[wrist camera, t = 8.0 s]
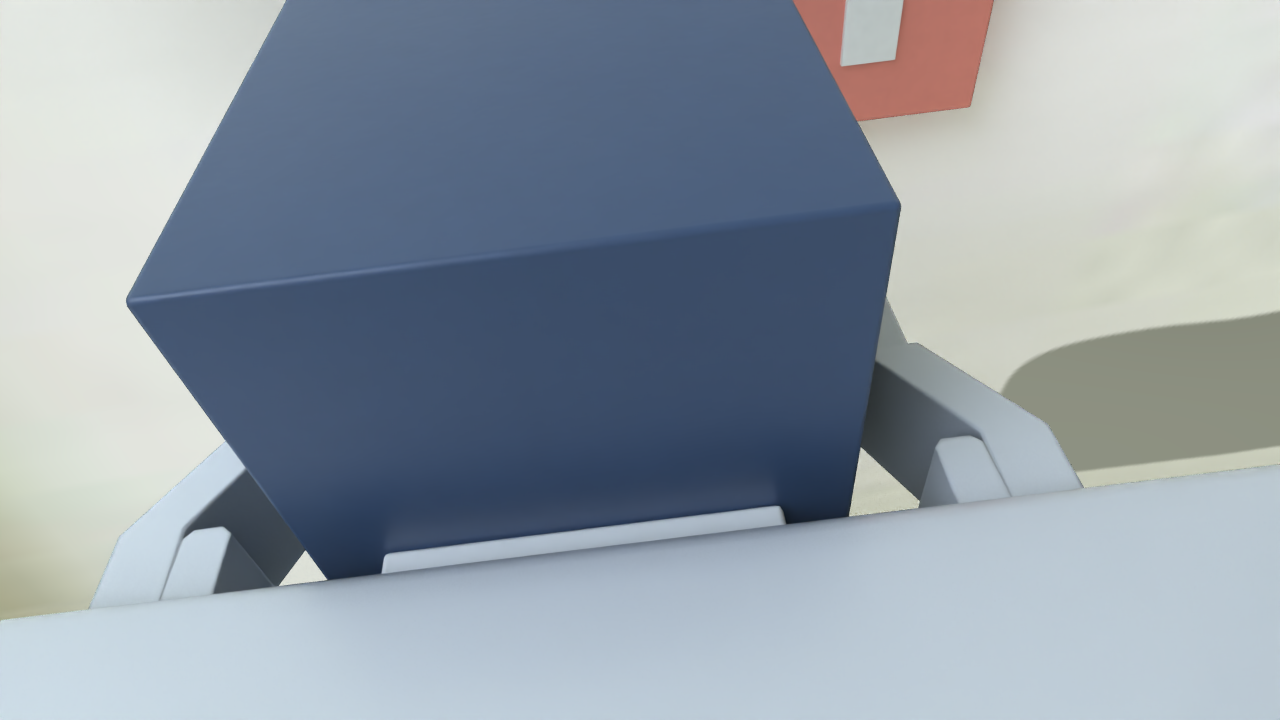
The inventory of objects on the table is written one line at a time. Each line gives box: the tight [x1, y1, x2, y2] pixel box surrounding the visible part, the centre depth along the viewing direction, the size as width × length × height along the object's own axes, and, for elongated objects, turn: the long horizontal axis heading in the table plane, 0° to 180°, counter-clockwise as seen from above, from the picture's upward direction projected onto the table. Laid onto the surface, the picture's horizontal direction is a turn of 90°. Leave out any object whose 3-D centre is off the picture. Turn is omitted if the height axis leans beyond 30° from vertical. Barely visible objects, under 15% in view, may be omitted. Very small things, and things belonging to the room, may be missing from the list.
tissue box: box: [126, 0, 901, 580], centre depth 12 cm, size 10×6×9 cm, turn 5°
